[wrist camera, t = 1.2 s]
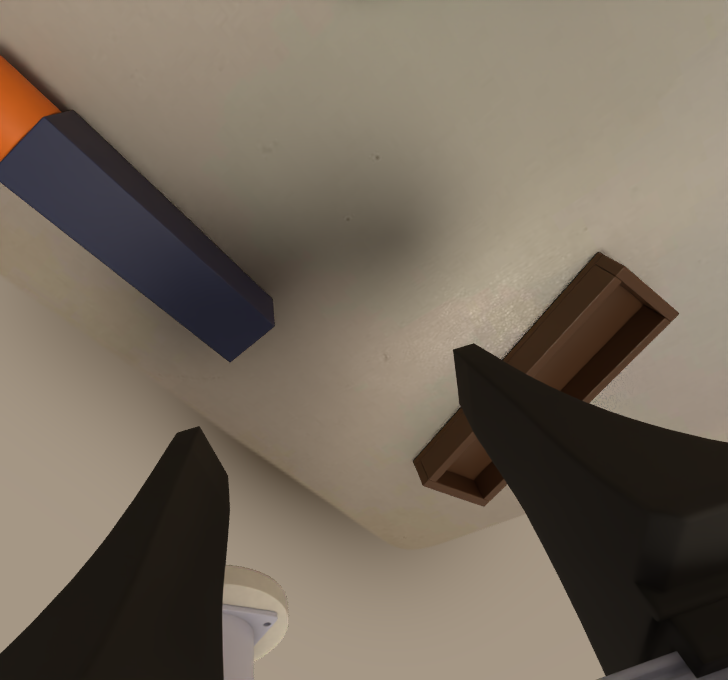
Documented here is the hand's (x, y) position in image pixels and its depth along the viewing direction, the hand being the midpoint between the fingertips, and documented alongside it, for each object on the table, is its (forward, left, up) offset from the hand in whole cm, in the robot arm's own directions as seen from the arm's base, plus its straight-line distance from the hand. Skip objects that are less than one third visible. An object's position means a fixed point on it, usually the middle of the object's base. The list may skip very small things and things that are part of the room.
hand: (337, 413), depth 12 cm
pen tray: (+1, -15, -10) cm, 18 cm away
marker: (-1, +7, -10) cm, 12 cm away
